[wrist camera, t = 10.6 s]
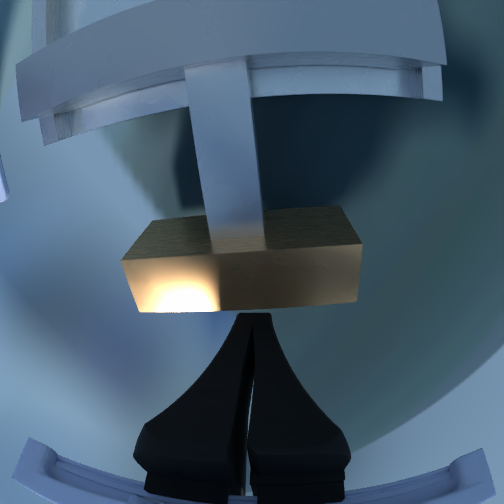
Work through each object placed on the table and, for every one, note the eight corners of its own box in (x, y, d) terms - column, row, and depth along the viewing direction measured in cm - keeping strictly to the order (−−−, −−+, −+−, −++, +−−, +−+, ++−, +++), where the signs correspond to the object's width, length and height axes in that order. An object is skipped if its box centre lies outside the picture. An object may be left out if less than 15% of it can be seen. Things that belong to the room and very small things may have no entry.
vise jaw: (113, 268, 12) (83, 310, 10) (67, 64, 8) (15, 65, 5) (396, 249, 11) (426, 293, 8) (395, 18, 7) (436, -1, 4)
